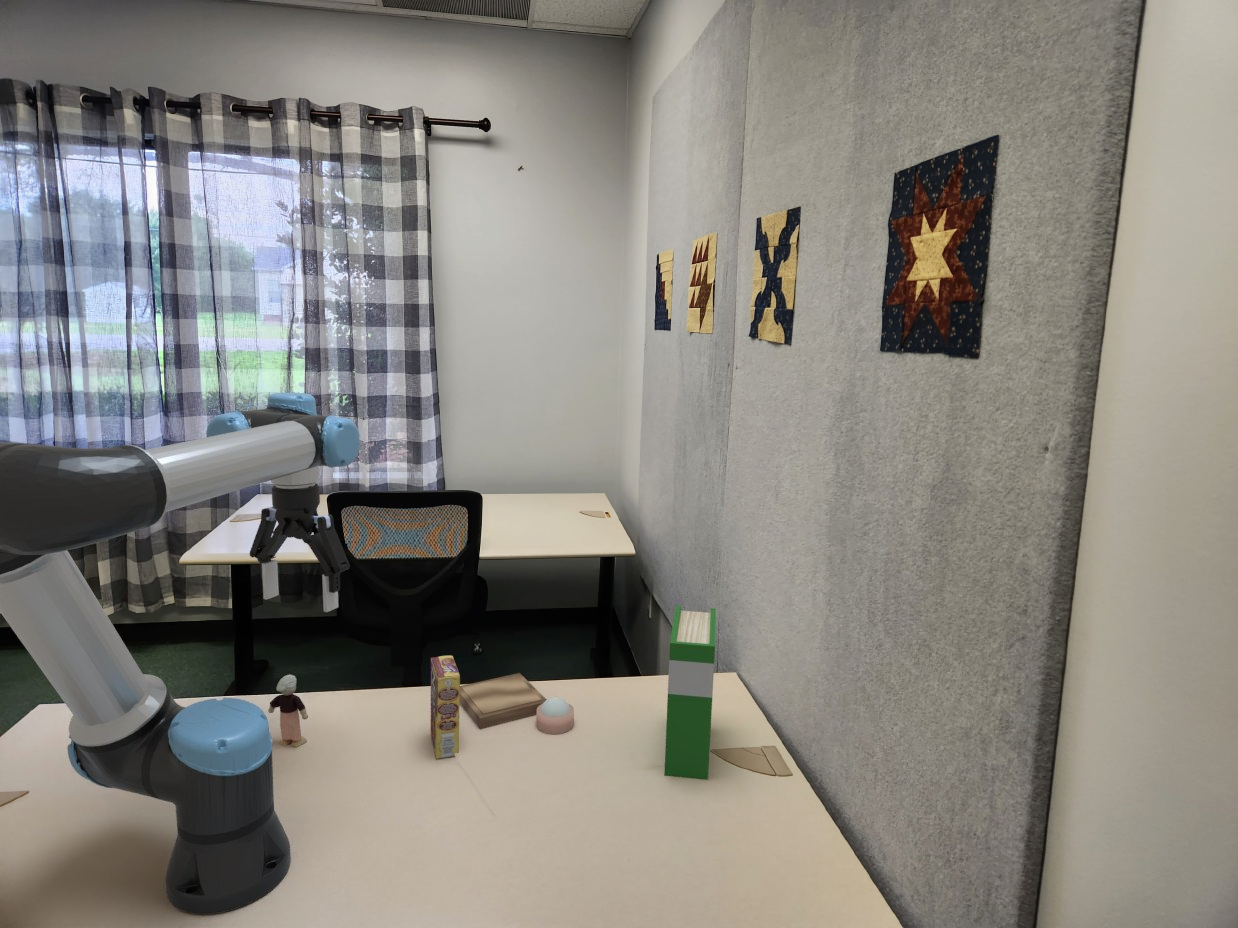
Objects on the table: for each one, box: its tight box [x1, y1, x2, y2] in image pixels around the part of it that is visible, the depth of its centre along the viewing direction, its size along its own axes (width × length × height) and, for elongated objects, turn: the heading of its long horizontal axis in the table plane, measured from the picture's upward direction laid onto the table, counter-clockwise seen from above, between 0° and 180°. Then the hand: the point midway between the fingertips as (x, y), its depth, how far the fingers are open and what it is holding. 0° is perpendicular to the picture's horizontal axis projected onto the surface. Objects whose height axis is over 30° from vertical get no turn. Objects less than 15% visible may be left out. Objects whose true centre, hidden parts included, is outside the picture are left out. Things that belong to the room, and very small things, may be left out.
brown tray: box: [459, 672, 548, 730], centre depth 152 cm, size 14×14×3 cm
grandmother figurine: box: [267, 674, 309, 748], centre depth 137 cm, size 8×4×13 cm, turn 89°
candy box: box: [430, 655, 461, 760], centre depth 137 cm, size 9×4×15 cm, turn 20°
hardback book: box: [664, 605, 717, 781], centre depth 137 cm, size 18×7×24 cm, turn 173°
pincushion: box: [535, 696, 575, 735], centre depth 144 cm, size 7×7×6 cm
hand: (300, 603), depth 134 cm, fingers open, 13 cm apart
